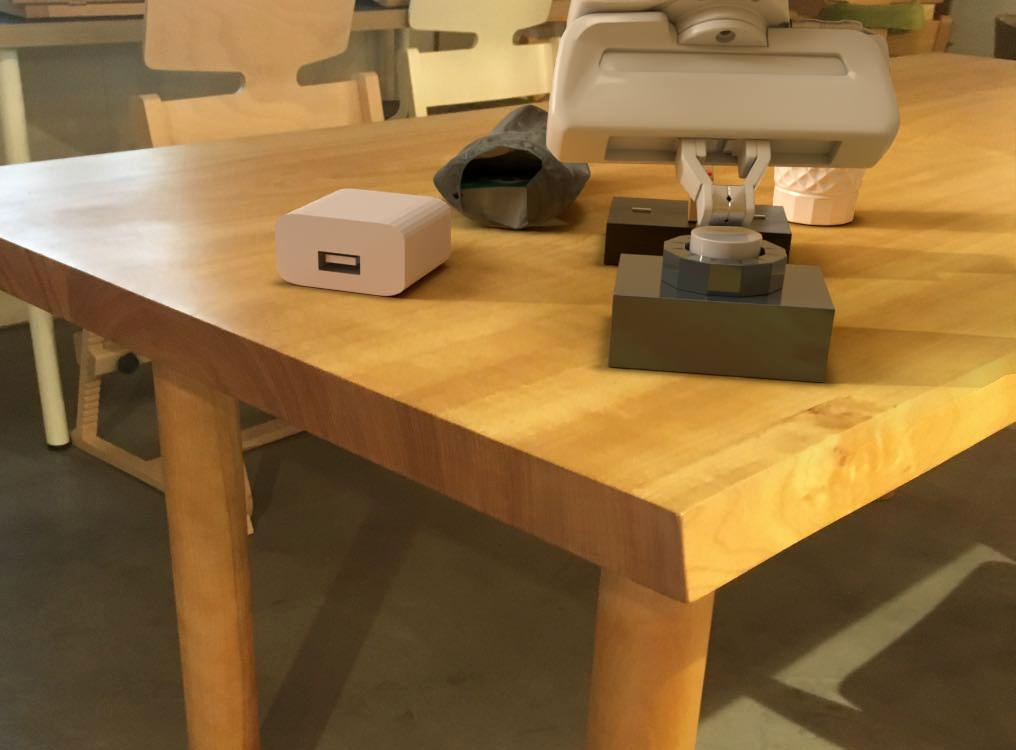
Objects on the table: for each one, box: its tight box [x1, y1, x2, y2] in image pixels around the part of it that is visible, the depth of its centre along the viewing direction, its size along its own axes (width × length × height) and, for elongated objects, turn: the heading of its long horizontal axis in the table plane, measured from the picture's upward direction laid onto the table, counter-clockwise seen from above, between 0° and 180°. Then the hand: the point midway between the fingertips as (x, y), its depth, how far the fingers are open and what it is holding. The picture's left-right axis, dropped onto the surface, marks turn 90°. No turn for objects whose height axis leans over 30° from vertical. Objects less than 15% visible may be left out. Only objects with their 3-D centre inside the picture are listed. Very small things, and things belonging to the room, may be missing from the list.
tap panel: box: [603, 196, 793, 266], centre depth 93 cm, size 13×10×3 cm
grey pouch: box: [432, 103, 592, 230], centre depth 107 cm, size 13×7×25 cm
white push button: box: [689, 226, 762, 260], centre depth 71 cm, size 4×4×2 cm
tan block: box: [687, 165, 715, 222], centre depth 91 cm, size 6×2×3 cm, turn 171°
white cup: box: [772, 167, 867, 226], centre depth 103 cm, size 8×8×10 cm
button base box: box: [607, 235, 836, 383], centre depth 72 cm, size 12×9×6 cm
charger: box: [274, 188, 452, 297], centre depth 88 cm, size 5×9×15 cm
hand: (726, 221), depth 70 cm, fingers closed, pressing on white push button
